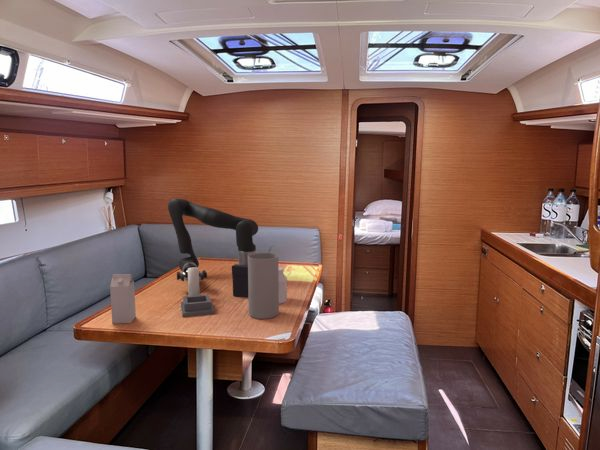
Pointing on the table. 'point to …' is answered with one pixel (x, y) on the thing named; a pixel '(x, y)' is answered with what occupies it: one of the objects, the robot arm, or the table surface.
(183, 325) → the table surface
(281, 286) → the jar
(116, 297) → the milk carton
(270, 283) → the cylinder vase
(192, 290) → the paper roll
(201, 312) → the roll holder
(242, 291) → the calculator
